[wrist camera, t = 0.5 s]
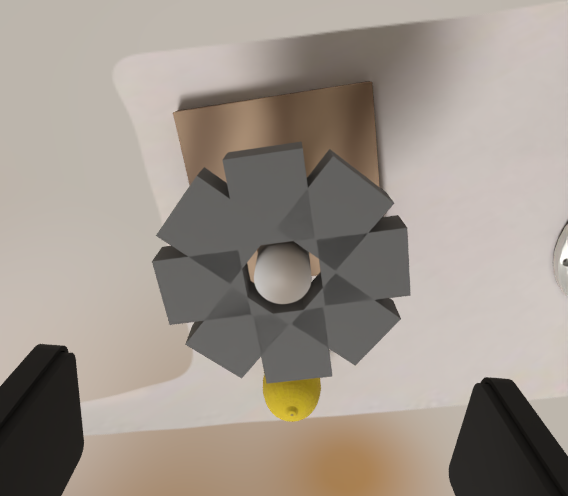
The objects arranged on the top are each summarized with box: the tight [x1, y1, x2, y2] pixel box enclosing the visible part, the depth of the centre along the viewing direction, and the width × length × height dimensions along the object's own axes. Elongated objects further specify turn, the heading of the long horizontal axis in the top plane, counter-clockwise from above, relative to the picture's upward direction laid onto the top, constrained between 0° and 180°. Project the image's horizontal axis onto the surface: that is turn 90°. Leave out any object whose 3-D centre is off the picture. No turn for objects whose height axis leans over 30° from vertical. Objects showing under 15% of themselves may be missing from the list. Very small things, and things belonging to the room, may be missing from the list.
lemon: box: [263, 375, 321, 422], centre depth 43 cm, size 6×6×8 cm
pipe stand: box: [173, 81, 379, 304], centre depth 32 cm, size 16×16×18 cm
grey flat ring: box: [152, 142, 410, 384], centre depth 24 cm, size 13×13×2 cm
